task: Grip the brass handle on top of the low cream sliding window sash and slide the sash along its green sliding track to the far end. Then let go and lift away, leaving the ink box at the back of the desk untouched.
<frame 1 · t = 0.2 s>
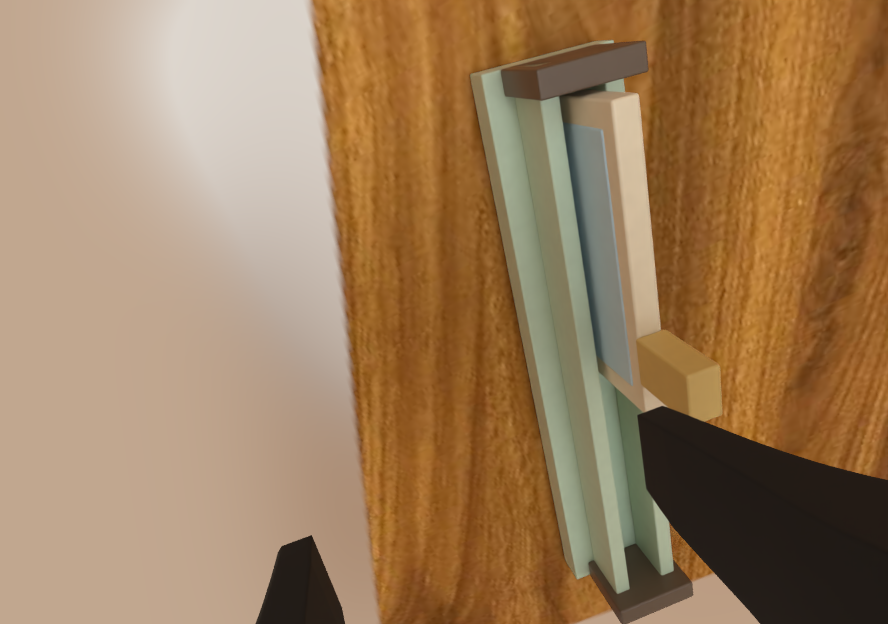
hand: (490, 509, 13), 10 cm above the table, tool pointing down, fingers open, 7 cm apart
window sash: (629, 264, 18), point 5 cm above the table, slide at 0.0 cm
green sliding track: (577, 342, 24), on the table
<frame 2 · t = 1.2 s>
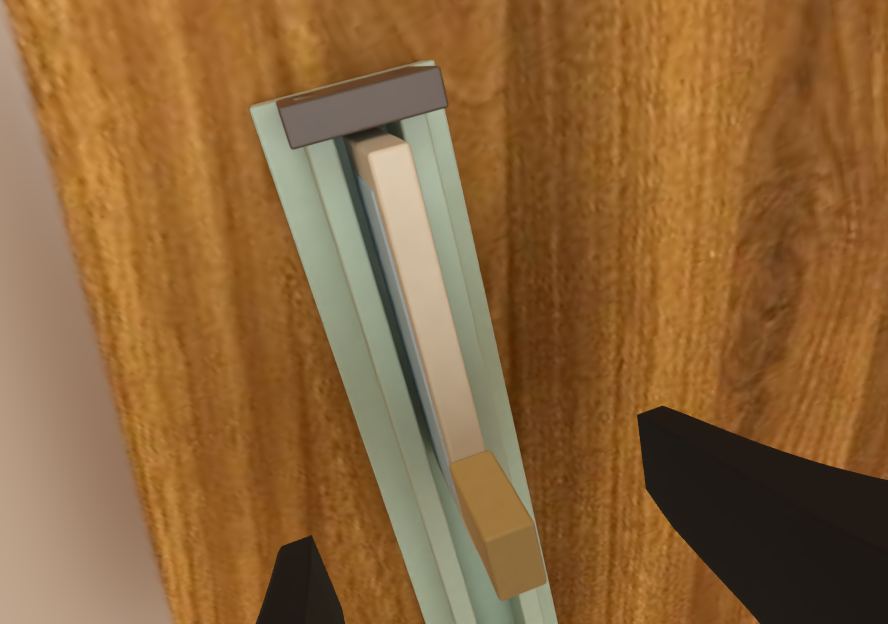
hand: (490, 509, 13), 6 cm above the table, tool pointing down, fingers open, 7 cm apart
window sash: (439, 363, 14), point 5 cm above the table, slide at 0.0 cm
green sliding track: (436, 429, 20), on the table
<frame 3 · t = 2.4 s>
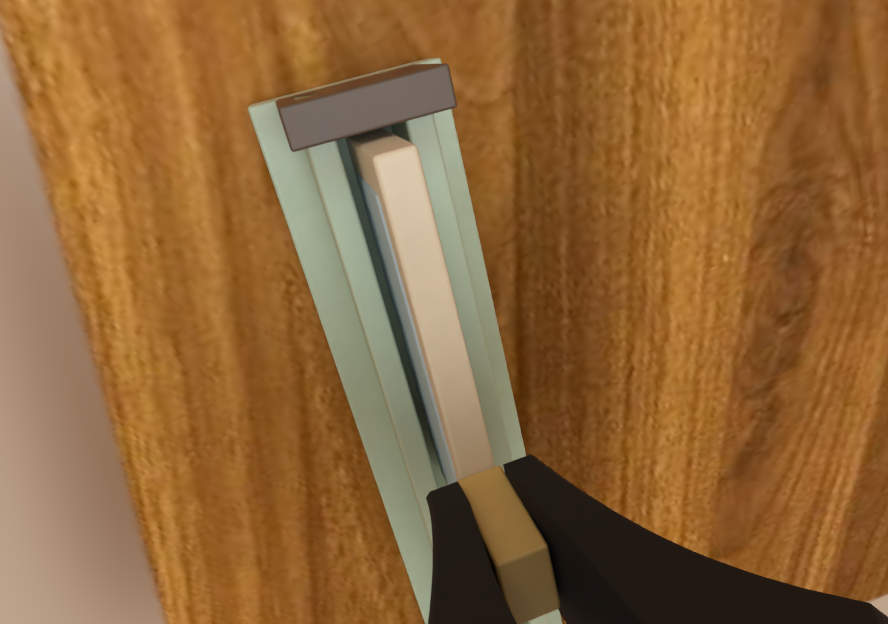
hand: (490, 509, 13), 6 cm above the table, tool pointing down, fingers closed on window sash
window sash: (447, 375, 13), point 5 cm above the table, slide at 0.0 cm, touching gripper
green sliding track: (440, 439, 19), on the table
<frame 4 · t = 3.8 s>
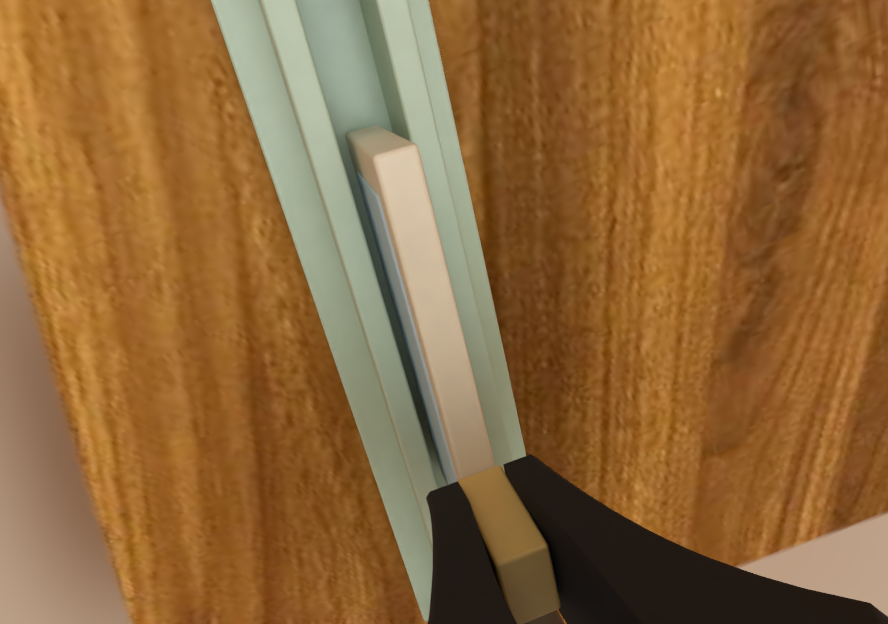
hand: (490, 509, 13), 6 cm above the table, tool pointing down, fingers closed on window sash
window sash: (447, 375, 13), point 5 cm above the table, slide at 5.0 cm, touching gripper
green sliding track: (399, 290, 17), on the table
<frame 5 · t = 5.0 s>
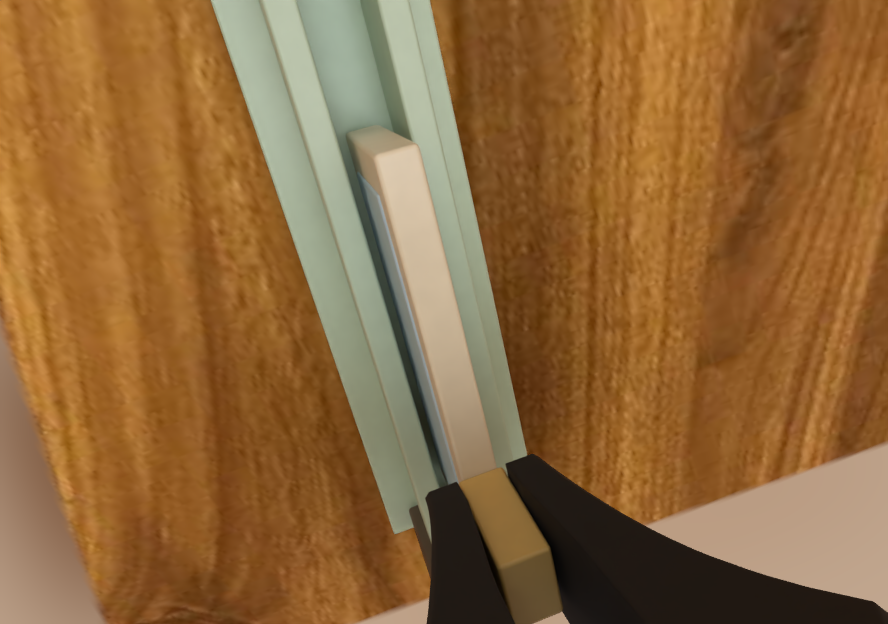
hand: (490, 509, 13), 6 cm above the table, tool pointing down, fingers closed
window sash: (448, 376, 13), point 5 cm above the table, slide at 8.8 cm
green sliding track: (361, 152, 15), on the table
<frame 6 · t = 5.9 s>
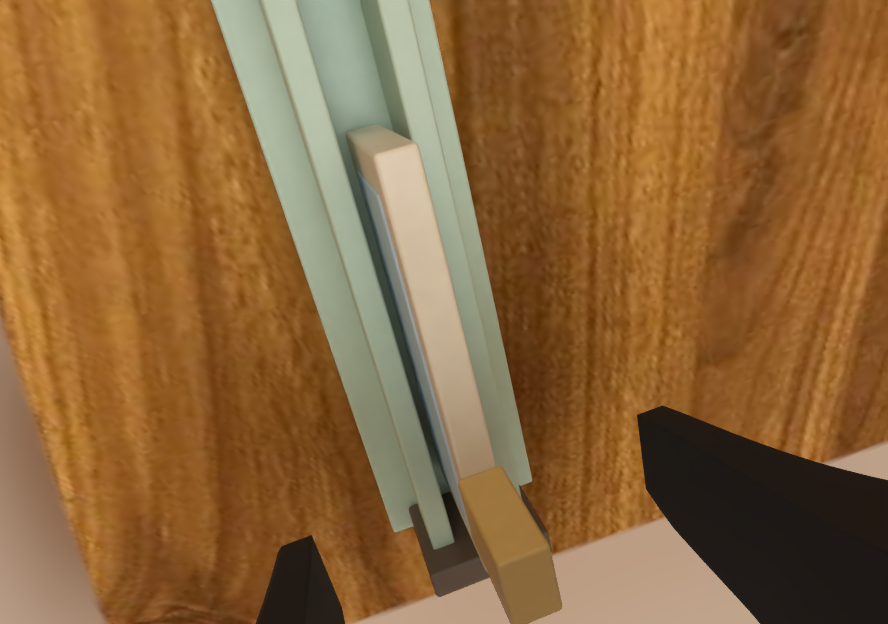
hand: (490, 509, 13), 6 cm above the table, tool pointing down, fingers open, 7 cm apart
window sash: (448, 375, 13), point 5 cm above the table, slide at 8.8 cm
green sliding track: (361, 152, 16), on the table
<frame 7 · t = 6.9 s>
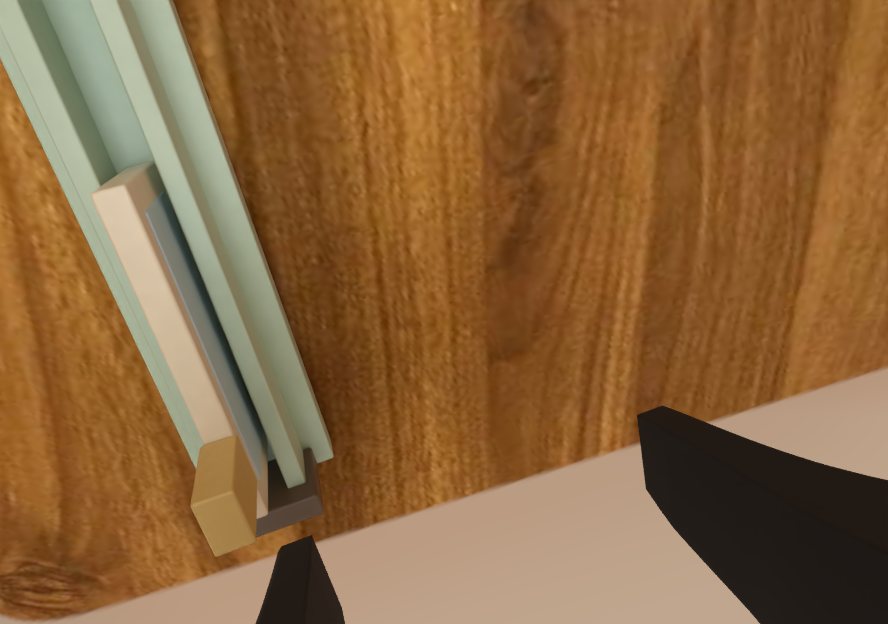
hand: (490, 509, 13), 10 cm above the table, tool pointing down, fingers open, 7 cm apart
window sash: (192, 362, 16), point 5 cm above the table, slide at 8.8 cm
green sliding track: (158, 181, 19), on the table
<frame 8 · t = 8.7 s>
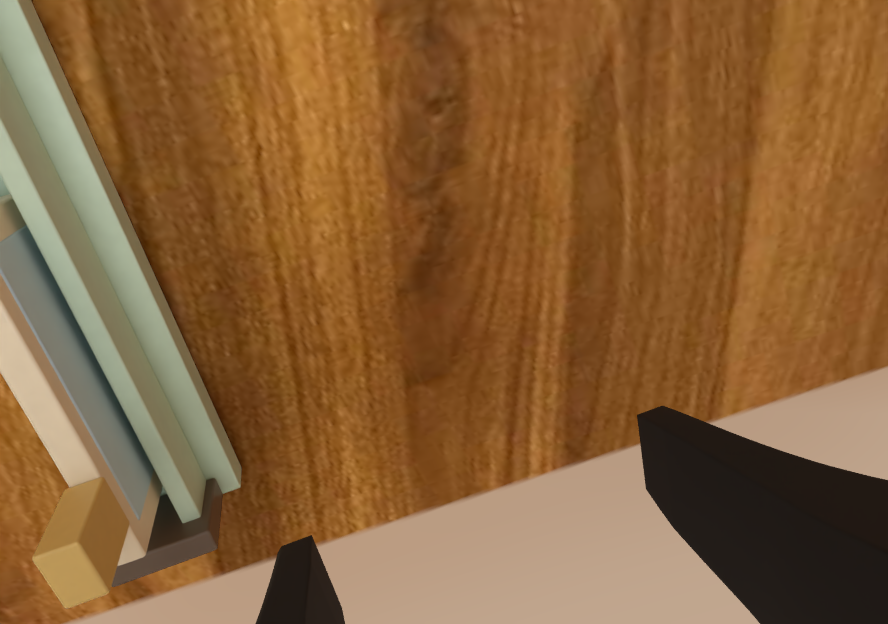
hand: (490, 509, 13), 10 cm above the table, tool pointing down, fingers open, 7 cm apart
window sash: (55, 402, 16), point 5 cm above the table, slide at 8.8 cm
green sliding track: (39, 209, 18), on the table
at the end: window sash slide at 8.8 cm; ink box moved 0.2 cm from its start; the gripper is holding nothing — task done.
